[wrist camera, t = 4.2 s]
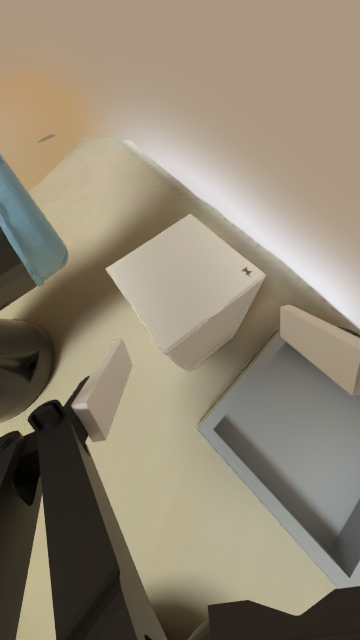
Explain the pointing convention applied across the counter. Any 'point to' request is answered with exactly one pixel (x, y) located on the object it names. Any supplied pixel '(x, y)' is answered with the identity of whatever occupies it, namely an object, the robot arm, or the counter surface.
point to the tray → (296, 453)
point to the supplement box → (188, 290)
